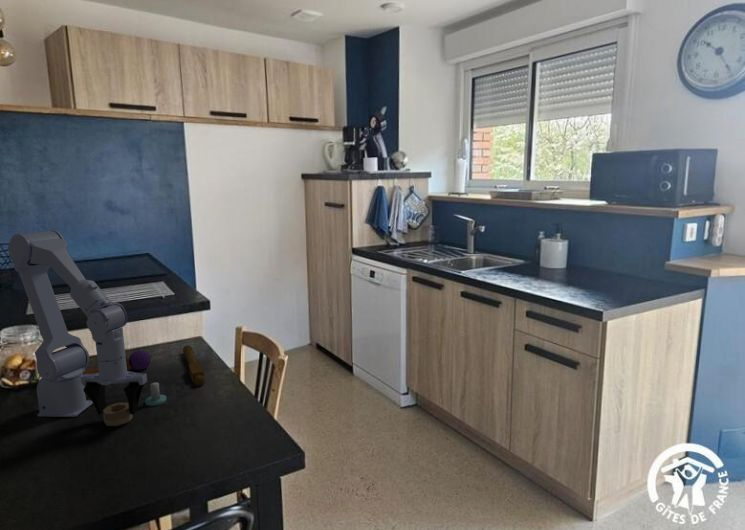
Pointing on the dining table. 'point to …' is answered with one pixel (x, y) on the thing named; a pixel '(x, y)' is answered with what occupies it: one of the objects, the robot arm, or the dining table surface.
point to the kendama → (132, 362)
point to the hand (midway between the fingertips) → (117, 412)
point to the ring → (117, 414)
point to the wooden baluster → (194, 366)
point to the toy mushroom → (155, 396)
